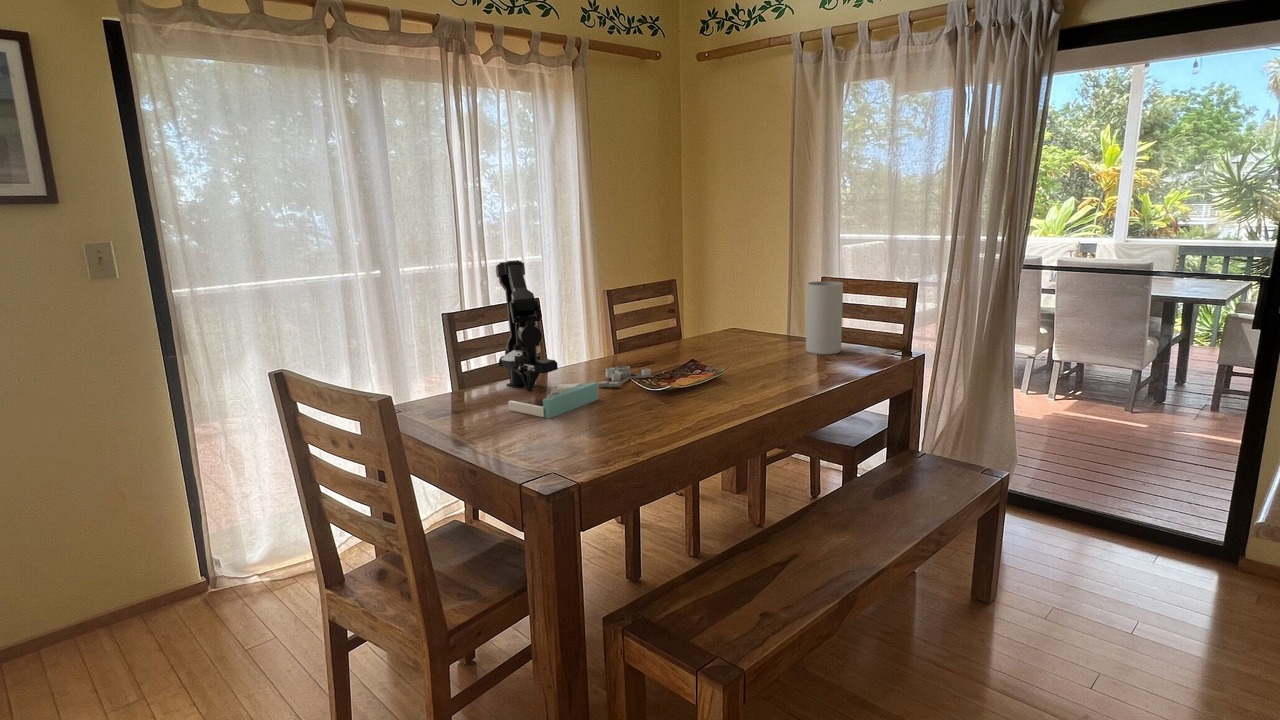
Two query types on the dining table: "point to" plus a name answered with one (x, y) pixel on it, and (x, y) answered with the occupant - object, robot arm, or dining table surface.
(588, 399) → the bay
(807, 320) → the cylinder vase
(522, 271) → the robot arm
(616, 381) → the pulley system
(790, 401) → the dining table surface
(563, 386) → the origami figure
